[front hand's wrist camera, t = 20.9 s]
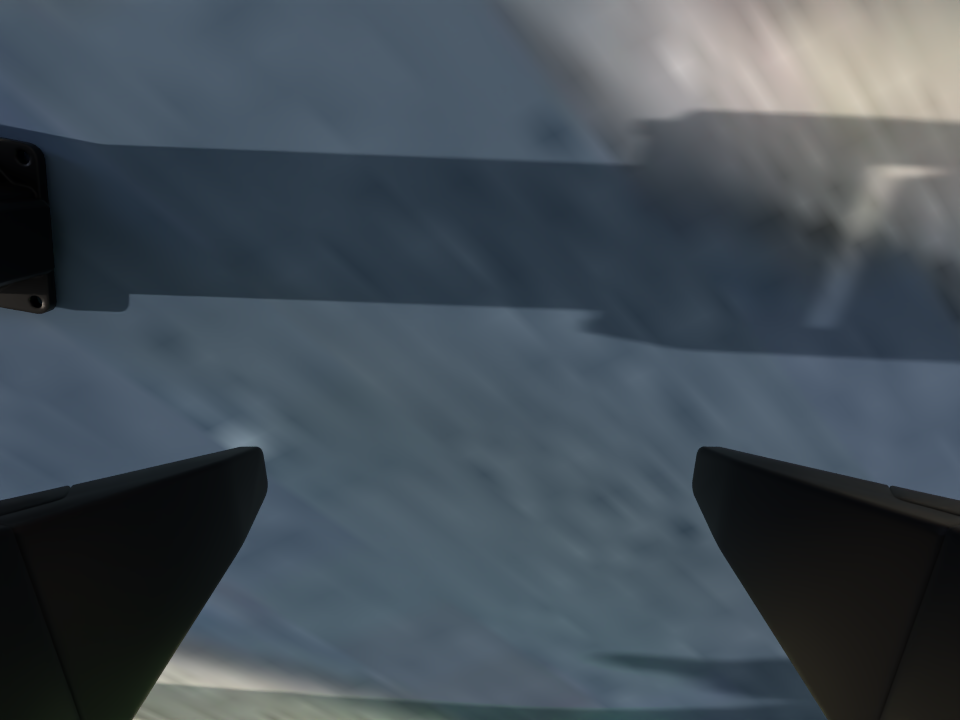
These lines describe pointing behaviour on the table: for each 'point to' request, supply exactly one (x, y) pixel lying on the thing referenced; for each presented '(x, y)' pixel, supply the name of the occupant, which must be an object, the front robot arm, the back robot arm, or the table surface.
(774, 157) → the table surface
